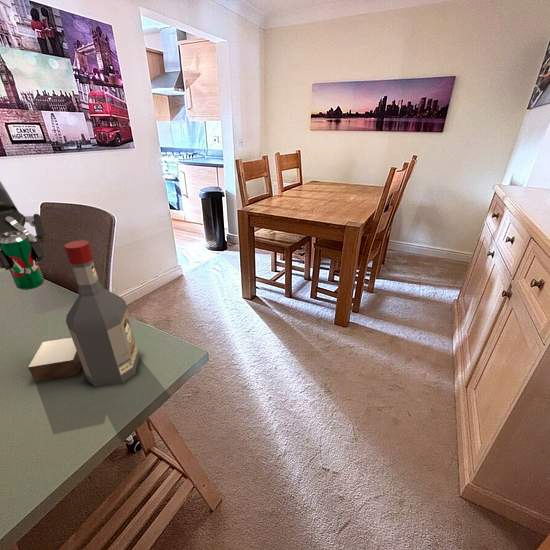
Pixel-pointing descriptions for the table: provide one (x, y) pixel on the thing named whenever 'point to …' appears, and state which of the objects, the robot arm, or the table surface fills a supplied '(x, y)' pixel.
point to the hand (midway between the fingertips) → (24, 263)
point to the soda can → (21, 260)
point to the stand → (55, 360)
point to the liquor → (99, 323)
